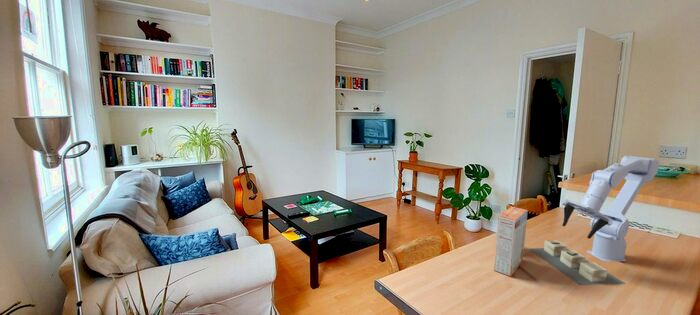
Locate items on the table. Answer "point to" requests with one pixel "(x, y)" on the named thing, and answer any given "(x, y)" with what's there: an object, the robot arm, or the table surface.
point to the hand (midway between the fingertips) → (576, 231)
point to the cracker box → (510, 240)
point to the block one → (554, 247)
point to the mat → (572, 269)
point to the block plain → (593, 271)
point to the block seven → (572, 259)
